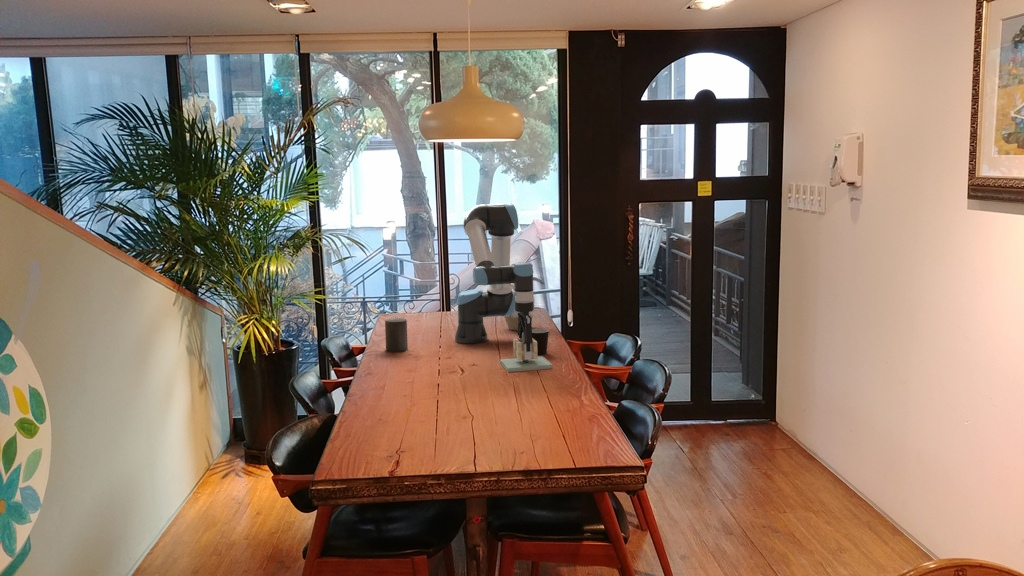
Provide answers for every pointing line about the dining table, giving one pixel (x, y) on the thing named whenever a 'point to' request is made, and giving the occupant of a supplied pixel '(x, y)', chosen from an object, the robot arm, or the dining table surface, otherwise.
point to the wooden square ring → (519, 349)
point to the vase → (514, 317)
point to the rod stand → (525, 363)
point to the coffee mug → (541, 340)
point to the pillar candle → (396, 334)
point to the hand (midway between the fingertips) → (525, 356)
